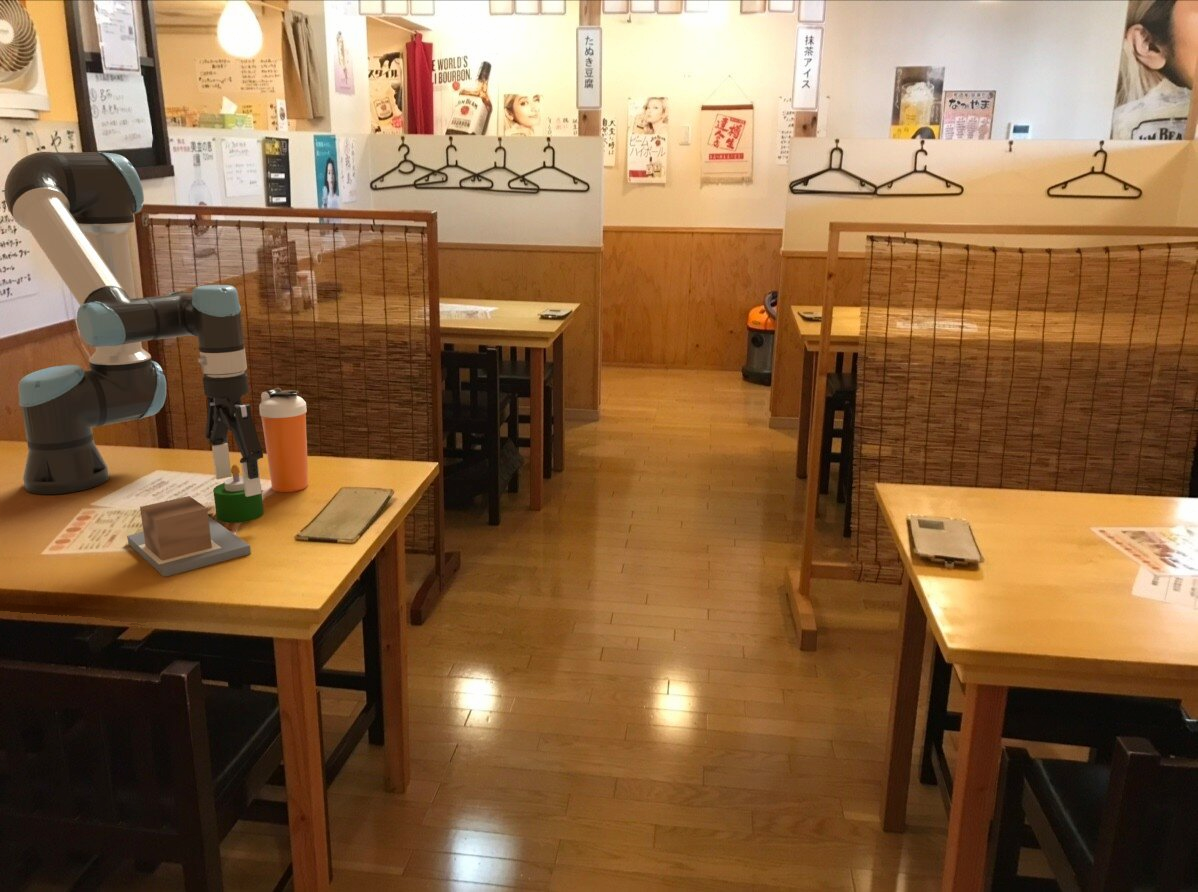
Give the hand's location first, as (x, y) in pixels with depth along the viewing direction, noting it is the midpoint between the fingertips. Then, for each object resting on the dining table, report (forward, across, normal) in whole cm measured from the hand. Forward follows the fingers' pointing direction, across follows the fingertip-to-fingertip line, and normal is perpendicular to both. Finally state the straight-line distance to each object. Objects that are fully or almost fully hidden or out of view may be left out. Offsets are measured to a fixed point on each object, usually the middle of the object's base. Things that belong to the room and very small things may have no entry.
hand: (238, 486), depth 172 cm
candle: (+6, 0, 0) cm, 6 cm away
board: (+6, +10, -13) cm, 17 cm away
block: (+4, +12, -15) cm, 20 cm away
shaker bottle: (+6, -10, +14) cm, 18 cm away
